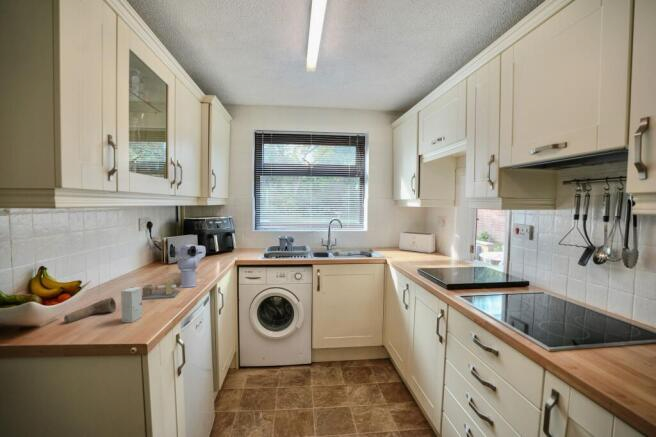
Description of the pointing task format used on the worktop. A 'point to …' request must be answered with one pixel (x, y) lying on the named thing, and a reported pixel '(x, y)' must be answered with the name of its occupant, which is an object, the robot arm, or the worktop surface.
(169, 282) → the collar
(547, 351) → the worktop surface
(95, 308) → the pipe
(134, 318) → the skincare box
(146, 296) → the rail
